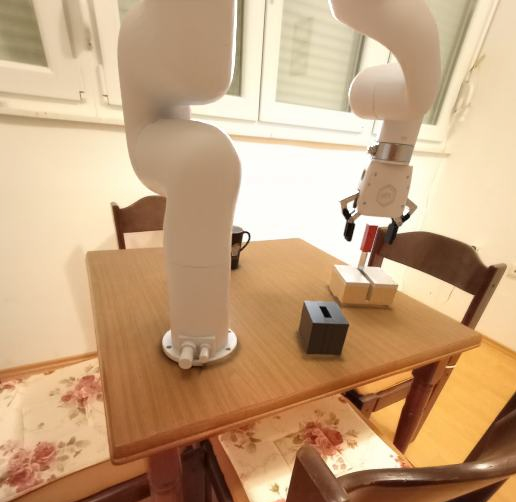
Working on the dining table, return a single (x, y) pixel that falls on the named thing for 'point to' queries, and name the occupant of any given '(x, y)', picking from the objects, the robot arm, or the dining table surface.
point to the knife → (367, 244)
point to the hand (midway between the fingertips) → (367, 241)
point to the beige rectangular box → (362, 285)
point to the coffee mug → (237, 245)
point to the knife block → (323, 328)
